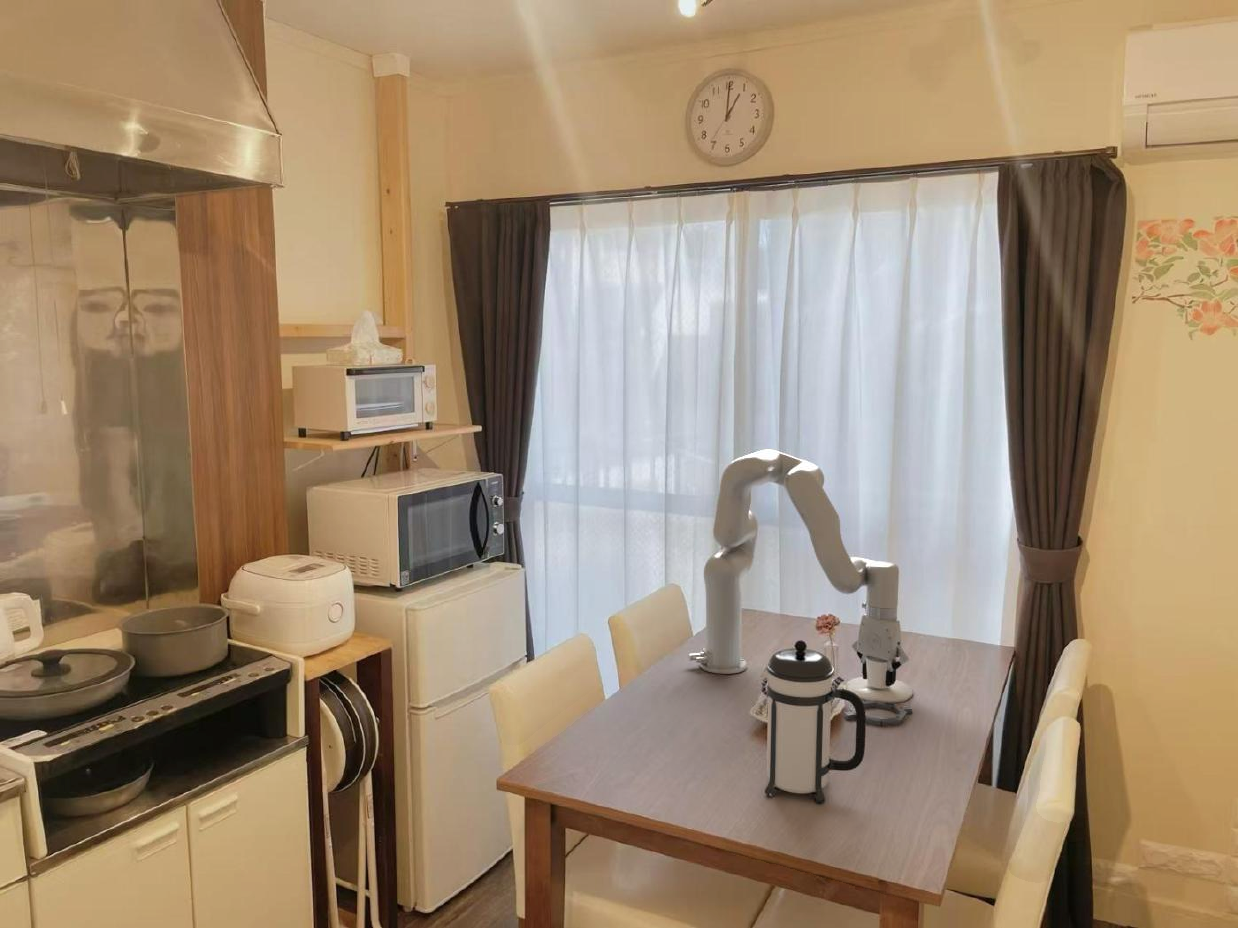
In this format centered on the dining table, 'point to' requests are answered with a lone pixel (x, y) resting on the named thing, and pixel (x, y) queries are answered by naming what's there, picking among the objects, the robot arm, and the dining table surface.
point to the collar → (896, 709)
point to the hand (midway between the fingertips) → (878, 680)
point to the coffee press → (804, 722)
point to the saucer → (880, 691)
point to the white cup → (876, 672)
